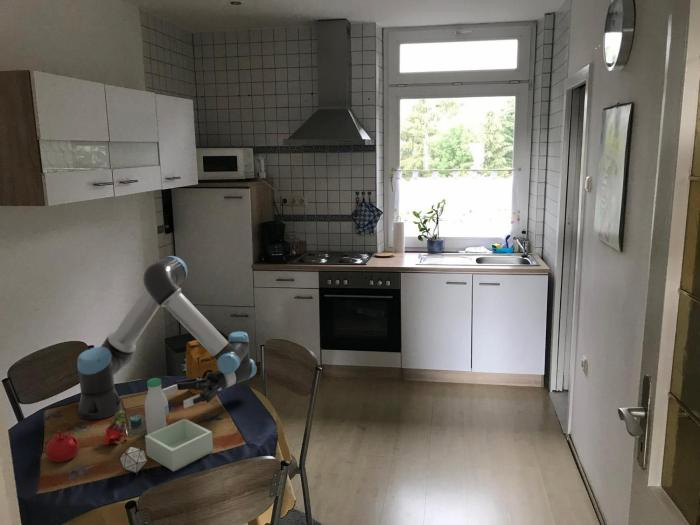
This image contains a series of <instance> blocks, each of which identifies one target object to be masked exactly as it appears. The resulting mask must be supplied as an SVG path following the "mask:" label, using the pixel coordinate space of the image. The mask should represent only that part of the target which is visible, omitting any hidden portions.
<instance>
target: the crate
mask: <svg viewBox="0 0 700 525" xmlns="http://www.w3.org/2000/svg"><path fill="white" fill-rule="evenodd" d="M144 439H145V447H146V448H145V451H146V456H147V457H149V458H150V459H152V460H153V461H155V462H157V463H159V464H160V465H162V466H164V467H165V468H168V469H169V470H170V471H171V472H173V473H174V472H175V471H178V470H180V469H182V468H184V467H186V466H189V464H191V463H194V462H196V461H197V460H199V459H202V458H204V457H206V456H207V455H210V454H211V453H213V452H214V441H213V431H211V430H210V429H208V428H205V427H204V426H201V425H199V424H197V423H195V422H193V421H190V420H189V419H186V418H183V419H180V420H178V421H176V422H174V423H170V425H169V426H166V427H164V428H162V429H159V430H157V431H155V432H153V433H150V434H148V435H145V436H144Z"/></svg>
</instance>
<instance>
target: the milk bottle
mask: <svg viewBox="0 0 700 525" xmlns="http://www.w3.org/2000/svg"><path fill="white" fill-rule="evenodd" d="M146 385H147V388H148V389H147V390H148V391H147V394H146V397H145V400H144V414H145V415H144V417H145V425H146V434H147V435H148V434H150V433H153V432H155V431H157V430H159V429H162V428H164V427H166V426H169V425H171V422H170V411H169V403H168V398H167V396H165V394H164V393H163V391H162V379H161V378H159V377H153V378H150V379H148V380H147V381H146Z"/></svg>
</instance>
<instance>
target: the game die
mask: <svg viewBox="0 0 700 525" xmlns="http://www.w3.org/2000/svg"><path fill="white" fill-rule="evenodd" d="M128 445H129V447H128V448H127V449H126V451H124V453H123V454H122V455H121V456H118V457H117V459H118V460H120V462H121V466H122V468H121V471H124V472H125V473H126V472H127V471H129V472H132V473H136V476H138V475H139V473H138V472H139V471H140V470H141V469H142V468H143V467H144V466H145V464H146V463H150V462H151V461H150V460H149V459H148V458H147V457H146V456H147V455H146V454H145V451H146V448H144V449H143V447H140V448H138V447H134V446H132V444H131V443H129V444H128Z"/></svg>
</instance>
